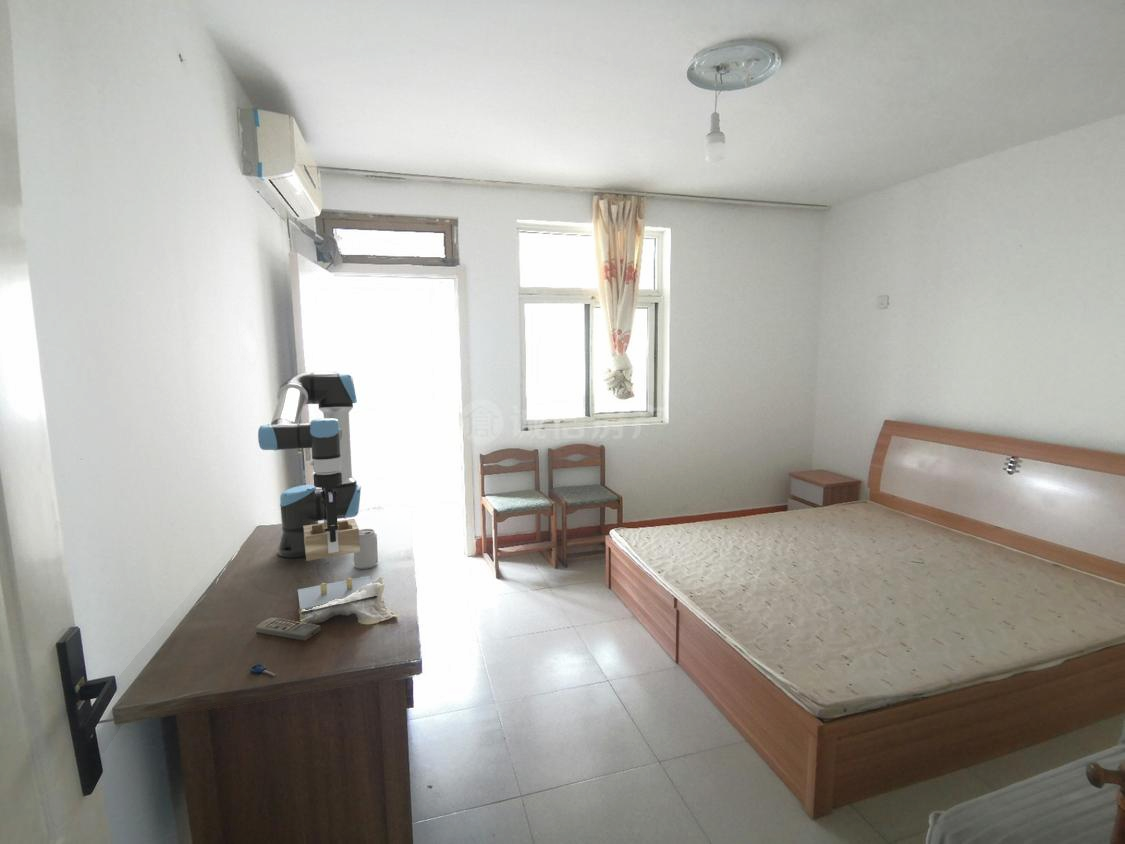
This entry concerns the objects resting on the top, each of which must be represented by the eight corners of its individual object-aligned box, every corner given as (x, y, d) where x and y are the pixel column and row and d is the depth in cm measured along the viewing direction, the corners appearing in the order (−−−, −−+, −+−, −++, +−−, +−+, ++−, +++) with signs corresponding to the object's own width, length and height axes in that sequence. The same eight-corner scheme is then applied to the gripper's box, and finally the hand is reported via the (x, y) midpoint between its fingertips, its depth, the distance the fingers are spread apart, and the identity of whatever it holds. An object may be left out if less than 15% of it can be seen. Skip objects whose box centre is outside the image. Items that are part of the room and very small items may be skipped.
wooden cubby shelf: (304, 548, 153) (303, 525, 152) (355, 540, 160) (354, 518, 159) (306, 560, 145) (305, 536, 144) (359, 551, 151) (358, 528, 150)
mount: (297, 593, 153) (297, 579, 153) (369, 579, 163) (368, 566, 163) (300, 613, 141) (299, 598, 141) (377, 596, 151) (376, 582, 150)
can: (370, 571, 170) (368, 535, 168) (349, 569, 171) (347, 534, 170) (382, 562, 177) (380, 528, 175) (362, 560, 178) (360, 527, 177)
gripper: (310, 466, 158) (315, 537, 160) (315, 480, 138) (320, 561, 140) (337, 464, 161) (341, 533, 164) (345, 477, 142) (350, 556, 144)
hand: (331, 546), depth 152 cm, fingers closed on wooden cubby shelf, 10 cm apart
